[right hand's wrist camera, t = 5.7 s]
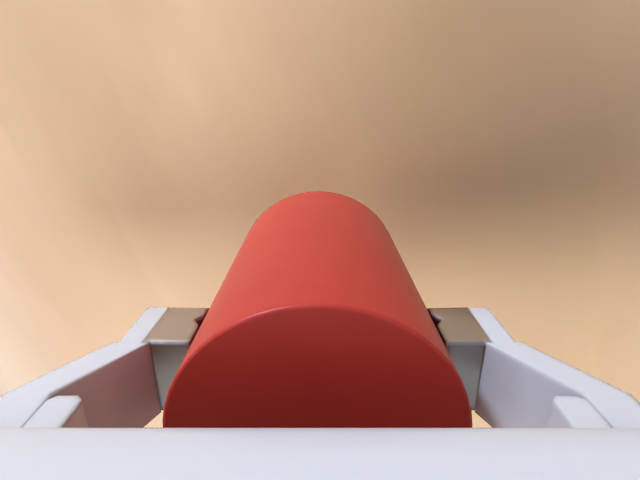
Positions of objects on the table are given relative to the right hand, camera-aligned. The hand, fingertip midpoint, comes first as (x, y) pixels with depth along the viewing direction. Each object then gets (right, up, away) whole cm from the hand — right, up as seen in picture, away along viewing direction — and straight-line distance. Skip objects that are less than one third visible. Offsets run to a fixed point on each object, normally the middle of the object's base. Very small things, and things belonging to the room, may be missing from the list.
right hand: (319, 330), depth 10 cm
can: (0, +1, +4) cm, 4 cm away
